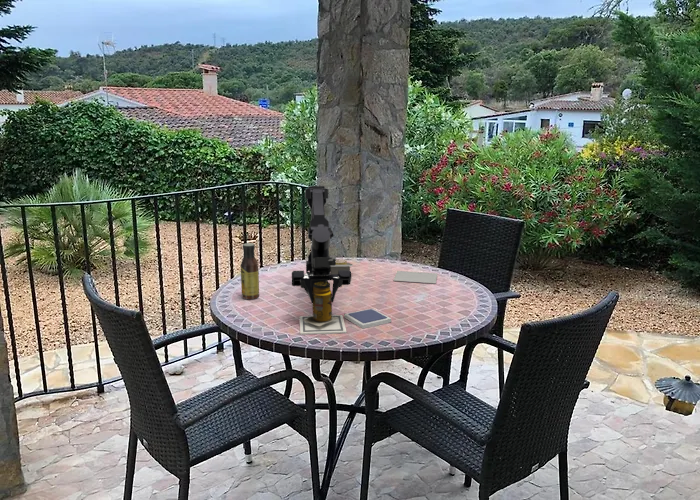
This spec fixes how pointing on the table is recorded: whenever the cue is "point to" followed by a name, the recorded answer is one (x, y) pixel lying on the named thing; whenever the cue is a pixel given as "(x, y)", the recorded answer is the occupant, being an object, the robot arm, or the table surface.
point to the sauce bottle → (249, 273)
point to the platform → (340, 267)
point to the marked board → (323, 326)
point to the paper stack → (415, 277)
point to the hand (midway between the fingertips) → (322, 302)
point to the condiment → (321, 304)
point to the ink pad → (367, 318)
